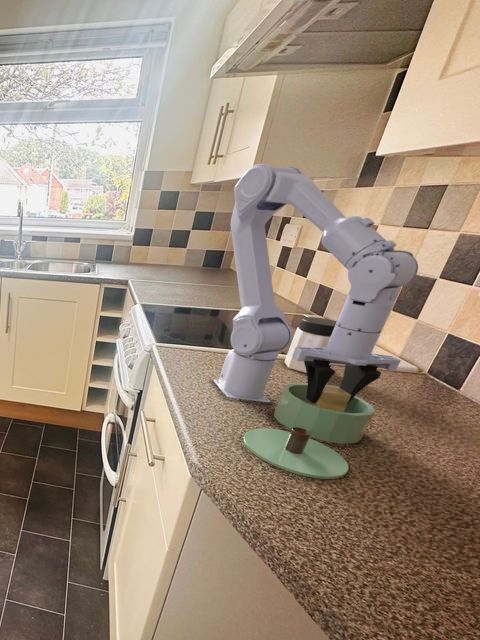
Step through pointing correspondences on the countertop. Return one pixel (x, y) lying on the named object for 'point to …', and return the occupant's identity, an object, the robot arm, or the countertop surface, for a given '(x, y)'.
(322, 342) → the jar
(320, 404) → the block
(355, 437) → the tin
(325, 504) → the countertop surface
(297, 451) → the lid
